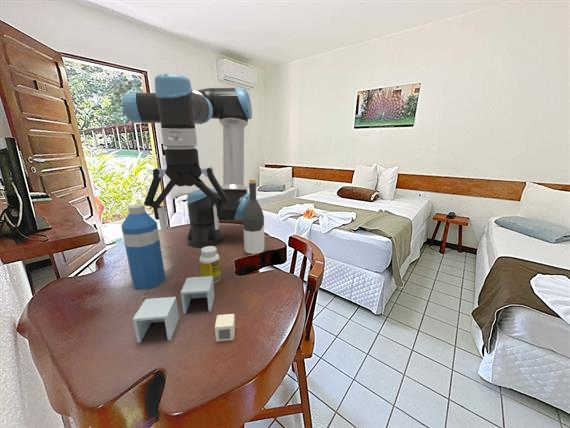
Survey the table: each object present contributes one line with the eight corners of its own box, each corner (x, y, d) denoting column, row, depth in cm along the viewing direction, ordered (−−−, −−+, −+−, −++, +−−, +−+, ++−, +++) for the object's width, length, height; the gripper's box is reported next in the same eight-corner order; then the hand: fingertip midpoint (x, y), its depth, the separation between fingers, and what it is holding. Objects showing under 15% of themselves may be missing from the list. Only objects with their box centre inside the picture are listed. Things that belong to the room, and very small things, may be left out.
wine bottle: (245, 248, 102) (242, 177, 94) (265, 248, 102) (263, 177, 94) (243, 257, 94) (239, 180, 86) (264, 257, 95) (262, 180, 86)
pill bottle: (215, 286, 76) (213, 254, 72) (197, 284, 77) (194, 252, 74) (224, 276, 81) (222, 245, 78) (207, 274, 83) (204, 244, 79)
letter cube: (218, 329, 59) (217, 315, 58) (235, 327, 59) (234, 313, 58) (215, 342, 55) (214, 327, 54) (234, 340, 55) (233, 326, 54)
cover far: (189, 297, 70) (187, 277, 68) (214, 295, 71) (212, 276, 69) (183, 313, 64) (180, 292, 62) (211, 311, 64) (209, 290, 63)
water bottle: (171, 277, 80) (161, 204, 73) (145, 293, 72) (131, 212, 65) (152, 271, 84) (140, 201, 77) (125, 285, 76) (109, 208, 69)
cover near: (149, 321, 61) (145, 298, 59) (179, 318, 62) (176, 296, 60) (137, 343, 54) (132, 318, 52) (170, 340, 55) (166, 316, 53)
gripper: (117, 148, 53) (135, 237, 60) (232, 148, 57) (237, 231, 64) (132, 147, 60) (146, 226, 67) (234, 146, 64) (238, 222, 71)
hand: (191, 229), depth 66 cm, fingers open, 13 cm apart
